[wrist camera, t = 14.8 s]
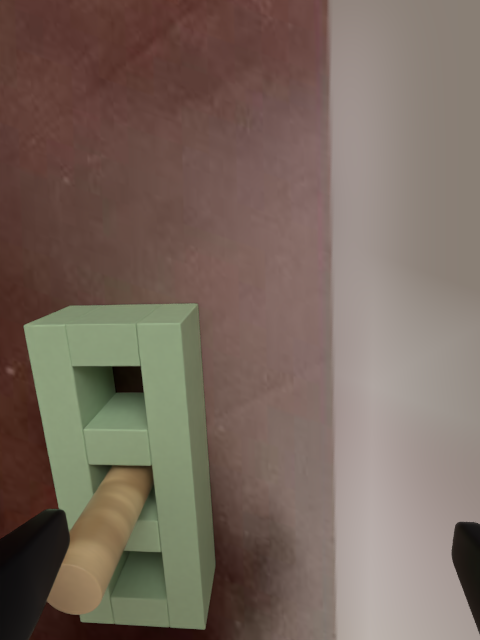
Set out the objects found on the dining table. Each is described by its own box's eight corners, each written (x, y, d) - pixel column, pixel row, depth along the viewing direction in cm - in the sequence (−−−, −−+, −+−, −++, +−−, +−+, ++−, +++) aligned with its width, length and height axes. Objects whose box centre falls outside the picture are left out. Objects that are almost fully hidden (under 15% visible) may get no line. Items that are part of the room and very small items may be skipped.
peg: (166, 428, 22) (97, 565, 13) (170, 463, 22) (106, 617, 14) (127, 428, 22) (33, 563, 13) (131, 463, 23) (44, 613, 14)
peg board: (198, 303, 20) (180, 323, 16) (215, 565, 24) (205, 630, 20) (69, 305, 20) (22, 325, 16) (110, 560, 25) (80, 622, 21)
